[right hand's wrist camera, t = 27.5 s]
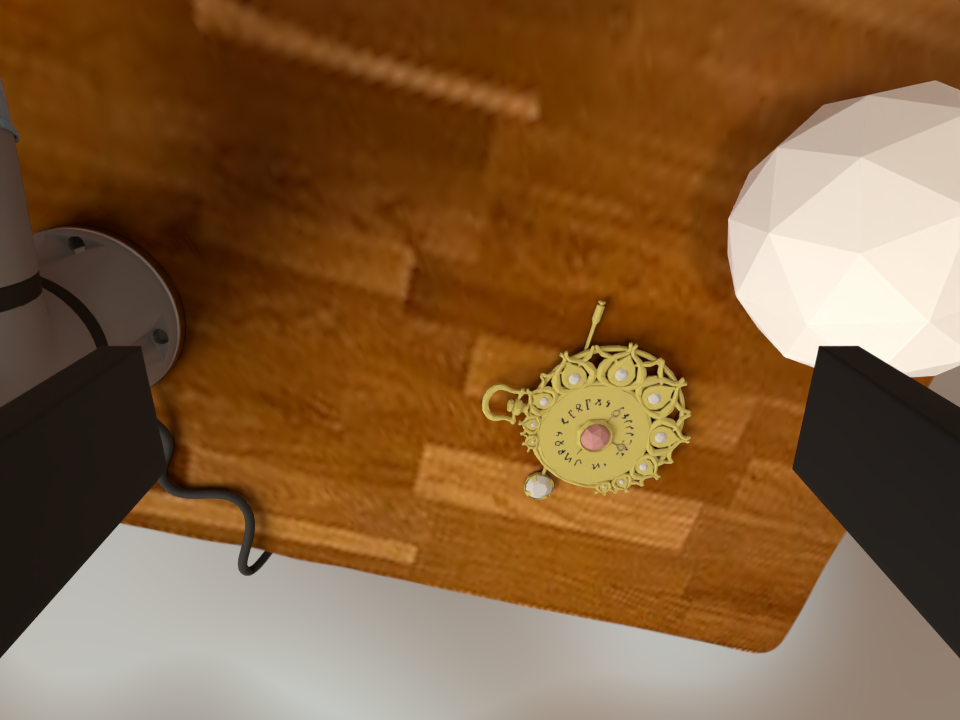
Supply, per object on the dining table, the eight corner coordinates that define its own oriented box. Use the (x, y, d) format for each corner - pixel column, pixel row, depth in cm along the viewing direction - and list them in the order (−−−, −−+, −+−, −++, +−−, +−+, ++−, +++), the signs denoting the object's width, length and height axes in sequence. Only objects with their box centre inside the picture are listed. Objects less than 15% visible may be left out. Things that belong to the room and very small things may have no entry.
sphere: (811, 243, 58) (948, 426, 48) (635, 233, 51) (750, 447, 40) (996, 48, 44) (1251, 249, 33) (788, -5, 36) (1031, 231, 26)
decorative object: (656, 532, 60) (457, 495, 57) (649, 517, 62) (457, 481, 60) (741, 340, 53) (517, 287, 50) (729, 330, 55) (514, 279, 52)
